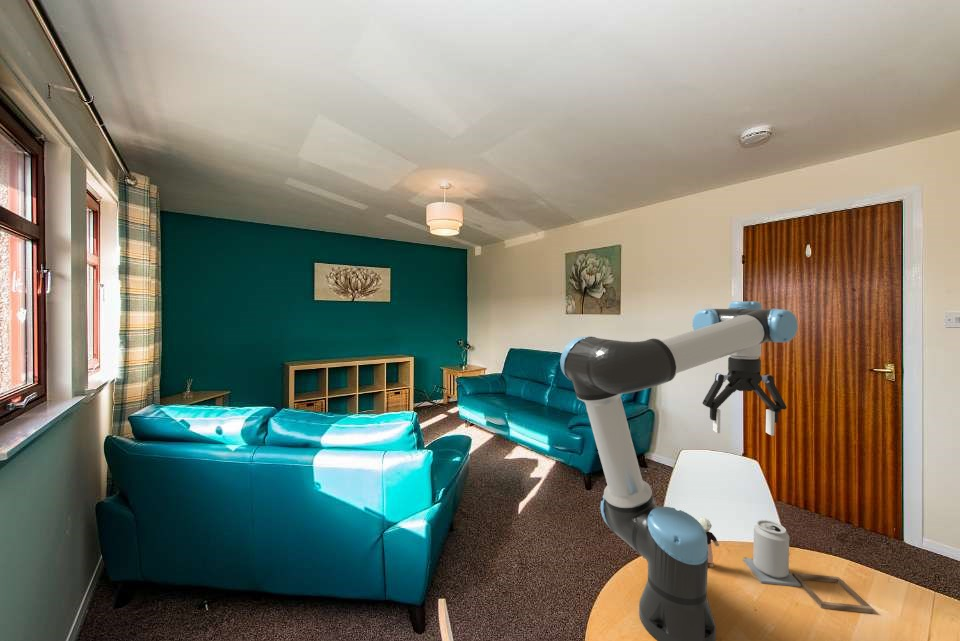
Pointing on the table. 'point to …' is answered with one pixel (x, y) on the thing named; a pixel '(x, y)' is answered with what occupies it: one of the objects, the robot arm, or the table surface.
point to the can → (771, 549)
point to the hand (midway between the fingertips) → (742, 433)
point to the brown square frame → (829, 605)
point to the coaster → (764, 578)
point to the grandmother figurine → (708, 539)
